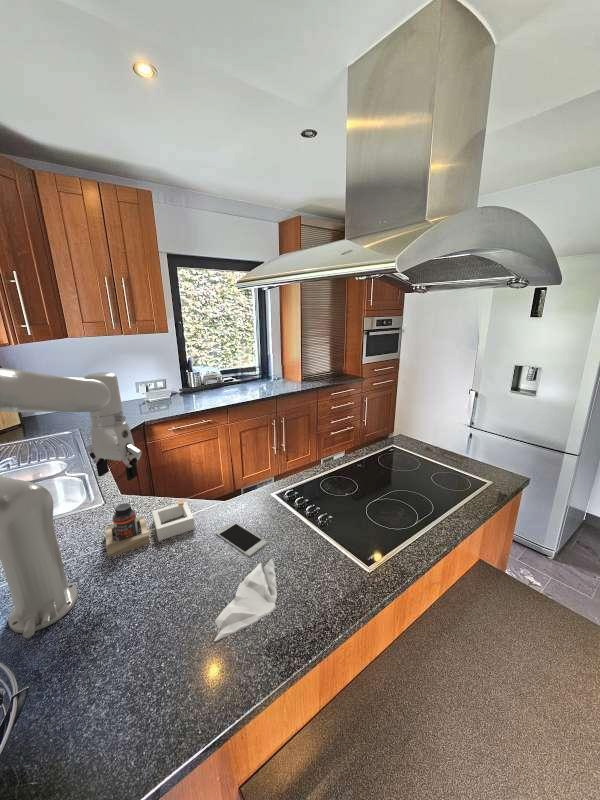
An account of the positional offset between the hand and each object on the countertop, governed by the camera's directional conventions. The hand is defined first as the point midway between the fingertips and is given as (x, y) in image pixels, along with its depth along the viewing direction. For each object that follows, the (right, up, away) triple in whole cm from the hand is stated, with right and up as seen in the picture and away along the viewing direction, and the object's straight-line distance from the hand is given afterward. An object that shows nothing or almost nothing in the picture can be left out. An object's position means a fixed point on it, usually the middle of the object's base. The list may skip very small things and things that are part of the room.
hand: (118, 476), depth 91 cm
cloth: (+40, -26, -14) cm, 50 cm away
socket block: (+11, -18, +12) cm, 25 cm away
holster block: (0, -20, +5) cm, 21 cm away
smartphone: (+34, -21, +6) cm, 40 cm away
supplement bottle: (0, -20, +5) cm, 21 cm away
